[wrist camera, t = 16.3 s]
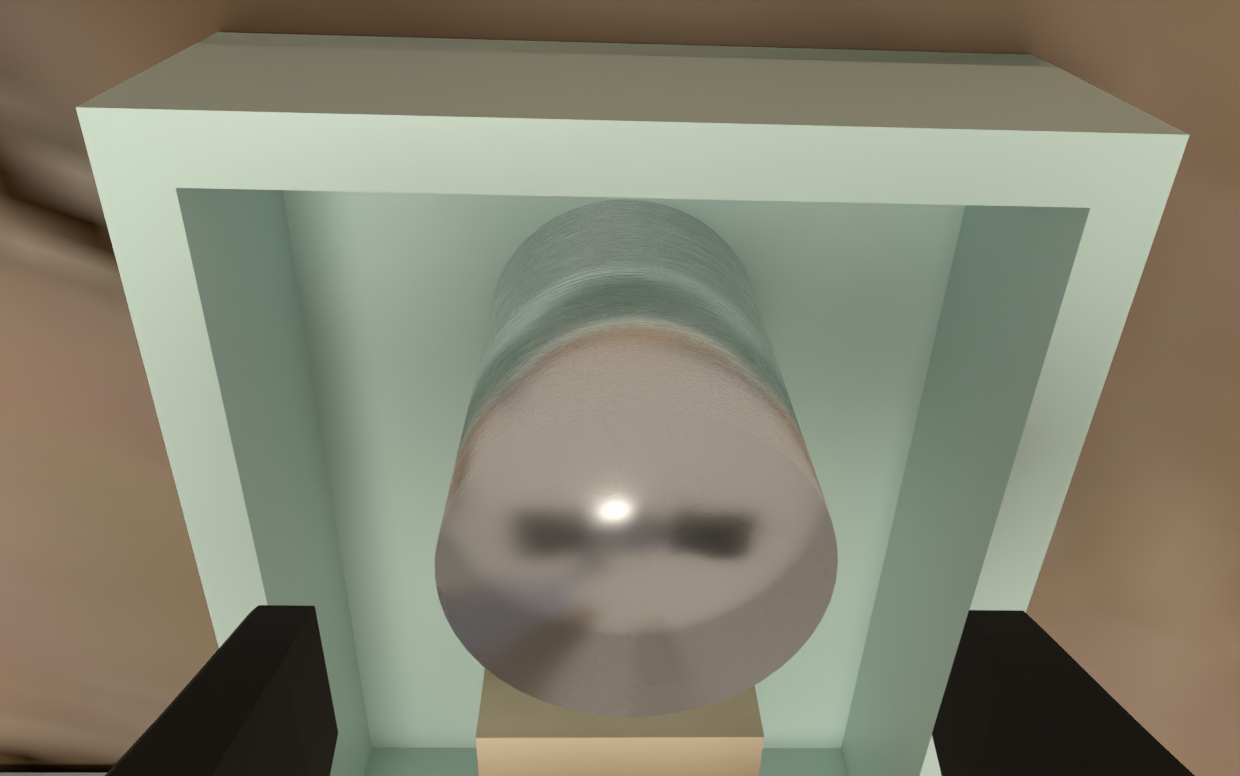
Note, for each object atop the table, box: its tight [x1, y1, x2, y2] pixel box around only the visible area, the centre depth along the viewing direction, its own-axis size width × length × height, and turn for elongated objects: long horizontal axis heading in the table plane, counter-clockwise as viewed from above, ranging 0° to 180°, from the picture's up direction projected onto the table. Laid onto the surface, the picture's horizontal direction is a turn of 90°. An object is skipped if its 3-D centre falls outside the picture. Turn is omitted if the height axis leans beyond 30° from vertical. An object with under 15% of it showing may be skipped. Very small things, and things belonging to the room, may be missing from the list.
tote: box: [76, 32, 1189, 776], centre depth 18 cm, size 18×14×5 cm
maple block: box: [476, 668, 764, 776], centre depth 20 cm, size 5×5×5 cm
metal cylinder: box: [435, 200, 838, 717], centre depth 15 cm, size 5×5×7 cm
